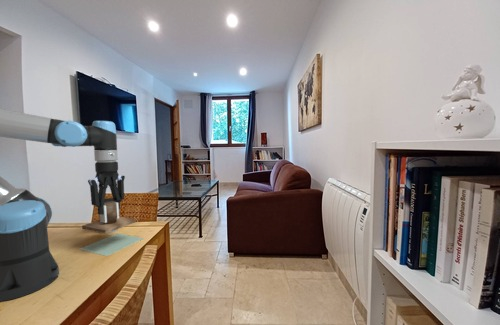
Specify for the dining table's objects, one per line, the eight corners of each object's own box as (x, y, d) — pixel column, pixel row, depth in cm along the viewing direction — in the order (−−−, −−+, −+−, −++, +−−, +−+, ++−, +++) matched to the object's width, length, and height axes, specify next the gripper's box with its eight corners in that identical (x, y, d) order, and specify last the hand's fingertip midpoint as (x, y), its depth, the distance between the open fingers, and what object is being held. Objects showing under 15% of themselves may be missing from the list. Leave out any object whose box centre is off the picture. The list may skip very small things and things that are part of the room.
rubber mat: (107, 257, 80) (107, 256, 80) (78, 250, 86) (78, 249, 86) (144, 239, 94) (144, 238, 94) (117, 234, 100) (117, 233, 100)
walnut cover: (105, 233, 81) (103, 208, 80) (82, 228, 86) (80, 205, 85) (136, 222, 93) (135, 200, 92) (114, 218, 98) (113, 197, 97)
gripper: (89, 163, 78) (93, 228, 79) (132, 160, 94) (135, 214, 95) (76, 162, 81) (80, 226, 82) (120, 159, 97) (123, 212, 98)
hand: (109, 219), depth 89 cm, fingers closed on walnut cover, 4 cm apart
